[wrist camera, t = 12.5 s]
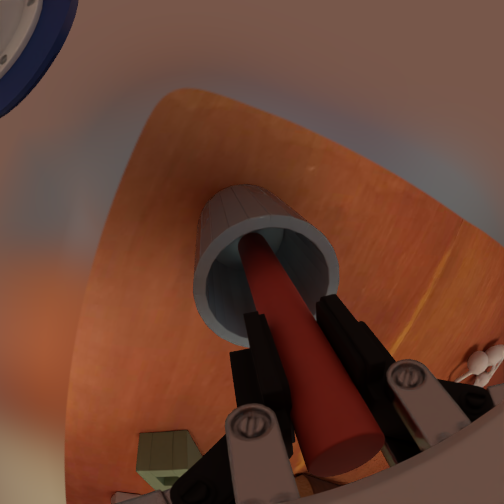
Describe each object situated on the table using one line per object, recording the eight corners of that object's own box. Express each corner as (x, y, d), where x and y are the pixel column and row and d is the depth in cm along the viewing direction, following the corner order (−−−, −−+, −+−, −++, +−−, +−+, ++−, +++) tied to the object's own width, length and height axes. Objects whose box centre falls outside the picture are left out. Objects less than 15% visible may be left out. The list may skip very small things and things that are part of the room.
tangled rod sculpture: (459, 407, 45) (469, 418, 41) (414, 429, 41) (425, 444, 38) (504, 333, 38) (518, 345, 34) (466, 349, 34) (482, 365, 30)
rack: (178, 481, 36) (179, 511, 31) (139, 433, 31) (135, 470, 25) (216, 478, 37) (220, 508, 31) (187, 429, 31) (187, 469, 26)
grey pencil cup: (207, 279, 25) (211, 359, 15) (189, 193, 22) (177, 231, 13) (292, 262, 25) (339, 330, 16) (282, 177, 22) (336, 203, 13)
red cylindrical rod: (242, 263, 21) (312, 484, 6) (234, 237, 20) (302, 454, 5) (270, 255, 21) (383, 457, 6) (263, 228, 20) (388, 420, 5)
